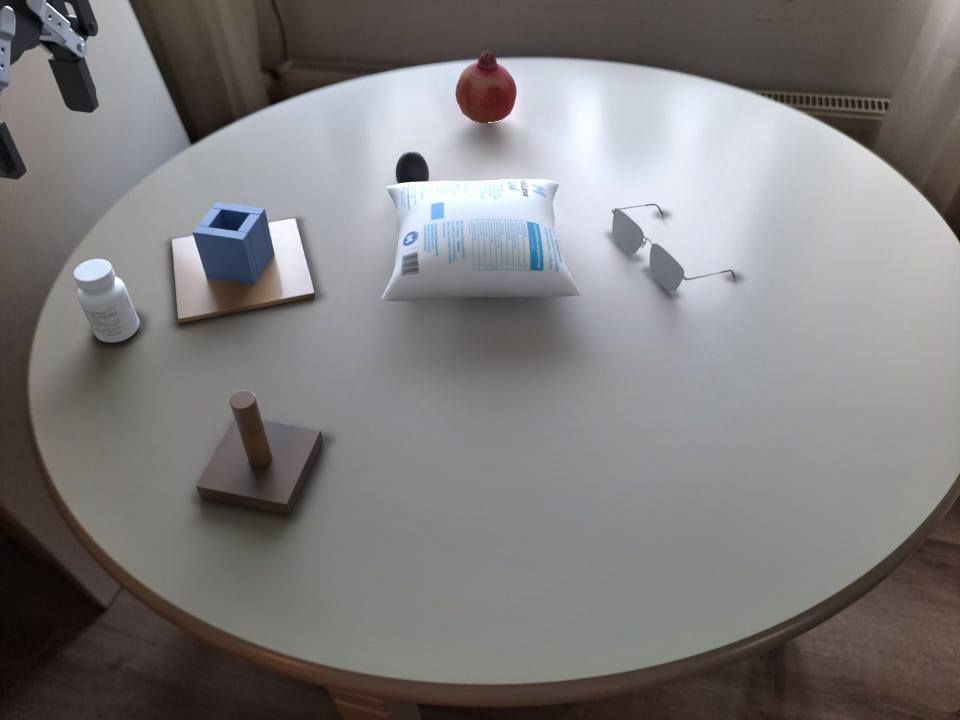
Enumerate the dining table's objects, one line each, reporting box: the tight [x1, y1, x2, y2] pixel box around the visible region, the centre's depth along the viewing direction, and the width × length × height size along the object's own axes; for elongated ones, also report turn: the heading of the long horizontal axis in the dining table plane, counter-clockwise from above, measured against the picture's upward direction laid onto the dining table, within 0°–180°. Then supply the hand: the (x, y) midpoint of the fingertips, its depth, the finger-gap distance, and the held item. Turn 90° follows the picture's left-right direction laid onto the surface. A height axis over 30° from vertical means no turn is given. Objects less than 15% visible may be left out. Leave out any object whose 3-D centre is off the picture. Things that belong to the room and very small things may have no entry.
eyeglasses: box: [610, 203, 736, 292], centre depth 90 cm, size 14×8×4 cm, turn 27°
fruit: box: [455, 50, 518, 125], centre depth 108 cm, size 8×8×10 cm
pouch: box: [381, 178, 582, 303], centre depth 87 cm, size 8×19×20 cm
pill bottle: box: [73, 258, 140, 343], centre depth 79 cm, size 4×4×8 cm
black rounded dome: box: [395, 149, 430, 184], centre depth 98 cm, size 4×4×5 cm
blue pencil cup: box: [192, 201, 275, 285], centre depth 86 cm, size 6×6×6 cm
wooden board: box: [171, 217, 316, 324], centre depth 88 cm, size 14×14×1 cm
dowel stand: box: [195, 389, 324, 515], centre depth 67 cm, size 8×8×9 cm
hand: (49, 140), depth 54 cm, fingers open, 8 cm apart
